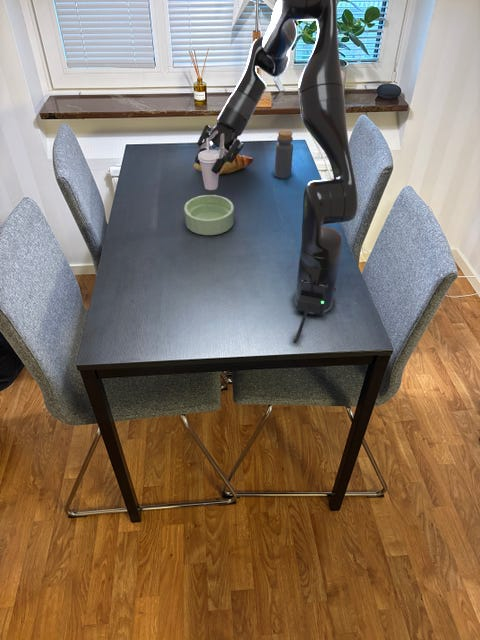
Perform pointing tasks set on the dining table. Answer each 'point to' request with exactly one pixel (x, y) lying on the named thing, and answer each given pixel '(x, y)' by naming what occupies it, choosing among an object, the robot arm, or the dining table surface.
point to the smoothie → (209, 167)
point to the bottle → (283, 154)
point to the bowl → (209, 214)
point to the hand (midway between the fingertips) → (205, 167)
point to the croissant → (232, 164)
